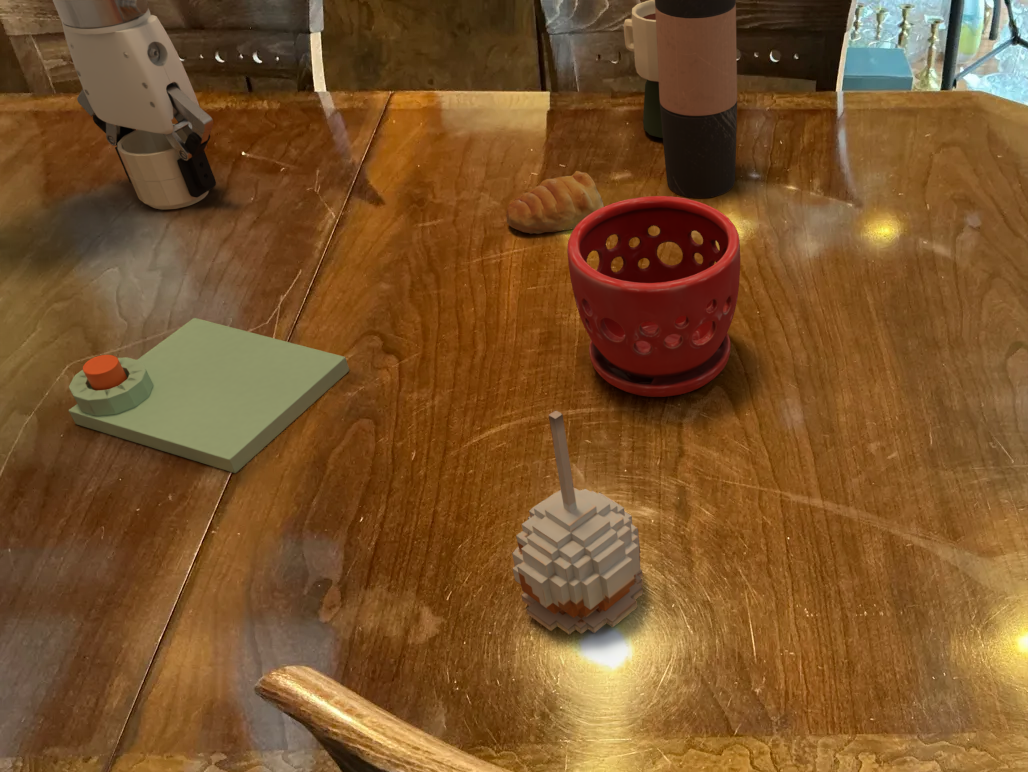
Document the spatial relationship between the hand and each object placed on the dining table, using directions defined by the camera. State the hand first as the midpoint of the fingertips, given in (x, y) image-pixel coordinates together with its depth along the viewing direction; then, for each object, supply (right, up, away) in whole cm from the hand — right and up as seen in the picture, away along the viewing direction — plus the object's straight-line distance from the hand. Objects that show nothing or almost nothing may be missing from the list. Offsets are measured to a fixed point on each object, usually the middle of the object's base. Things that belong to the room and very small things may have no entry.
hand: (173, 183), depth 111 cm
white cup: (0, -1, +1) cm, 1 cm away
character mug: (+51, +9, +10) cm, 53 cm away
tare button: (+9, -25, -27) cm, 37 cm away
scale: (+16, -25, -24) cm, 38 cm away
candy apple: (+48, -41, -40) cm, 74 cm away
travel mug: (+55, 0, +1) cm, 55 cm away
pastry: (+41, -5, -4) cm, 41 cm away
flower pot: (+52, -23, -22) cm, 61 cm away
